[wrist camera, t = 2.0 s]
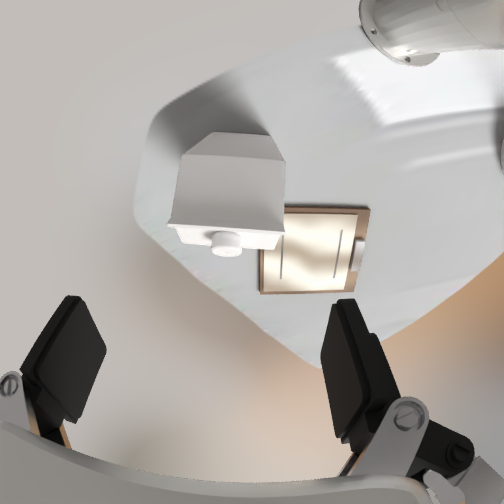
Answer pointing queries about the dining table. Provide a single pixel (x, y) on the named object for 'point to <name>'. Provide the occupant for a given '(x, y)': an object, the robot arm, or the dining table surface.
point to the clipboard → (315, 251)
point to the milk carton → (230, 193)
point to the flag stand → (502, 156)
